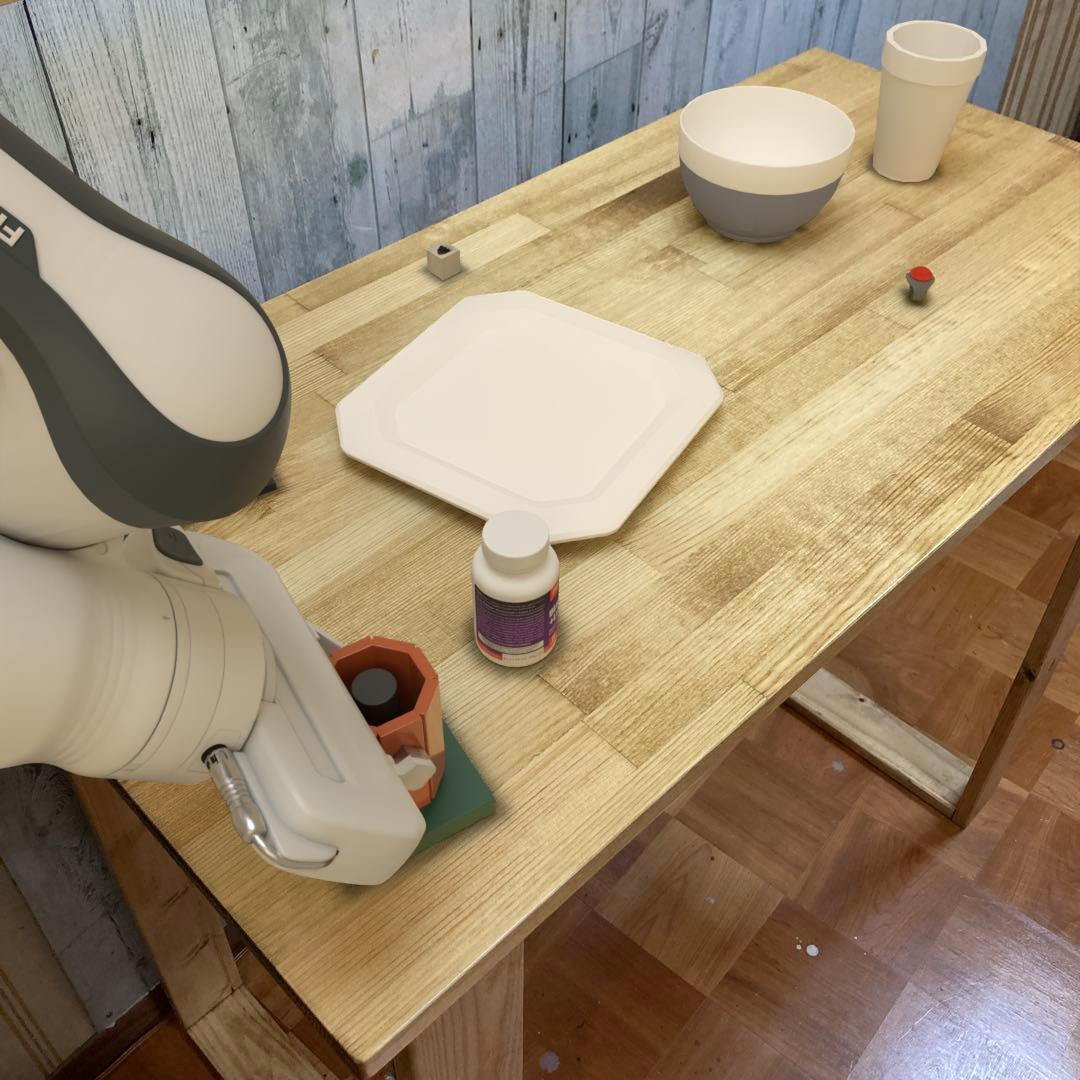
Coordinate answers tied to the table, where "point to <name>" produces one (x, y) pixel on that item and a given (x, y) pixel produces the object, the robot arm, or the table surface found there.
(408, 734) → the orange hollow octagonal tube
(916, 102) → the foam cup
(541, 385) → the plate
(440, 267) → the cube with dark pebbles
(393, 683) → the post stand
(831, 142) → the bowl
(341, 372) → the table surface
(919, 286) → the ring
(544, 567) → the pill bottle
